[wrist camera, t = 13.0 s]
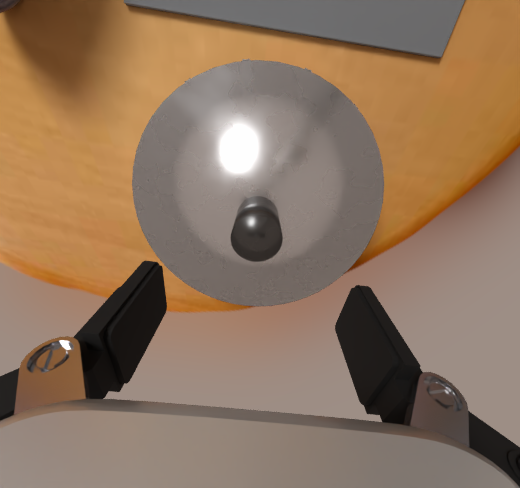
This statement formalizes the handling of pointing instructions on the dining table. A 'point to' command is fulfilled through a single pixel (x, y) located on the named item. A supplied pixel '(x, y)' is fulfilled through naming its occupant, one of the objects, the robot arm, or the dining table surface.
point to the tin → (7, 4)
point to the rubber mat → (335, 19)
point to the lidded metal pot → (258, 183)
